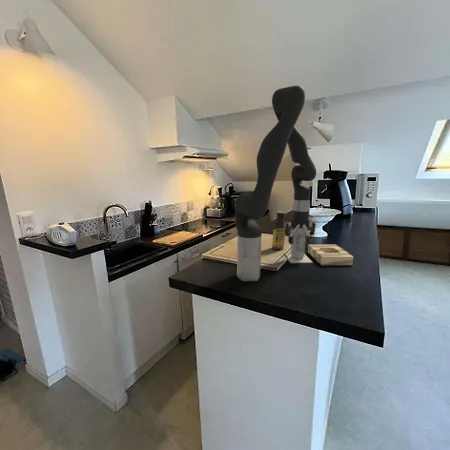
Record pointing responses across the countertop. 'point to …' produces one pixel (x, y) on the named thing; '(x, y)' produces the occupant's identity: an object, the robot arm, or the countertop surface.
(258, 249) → the robot arm
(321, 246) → the socket block
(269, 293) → the countertop surface
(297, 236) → the energy drink can
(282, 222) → the sauce bottle
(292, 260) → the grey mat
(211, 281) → the countertop surface
